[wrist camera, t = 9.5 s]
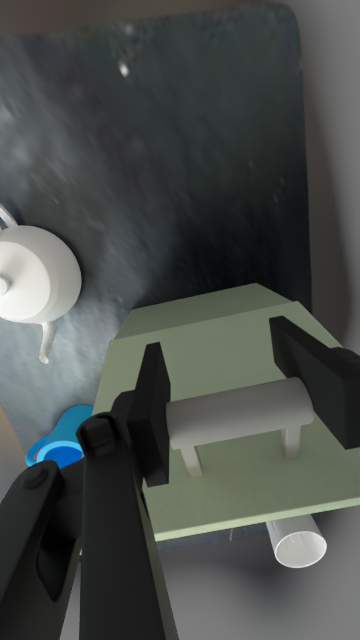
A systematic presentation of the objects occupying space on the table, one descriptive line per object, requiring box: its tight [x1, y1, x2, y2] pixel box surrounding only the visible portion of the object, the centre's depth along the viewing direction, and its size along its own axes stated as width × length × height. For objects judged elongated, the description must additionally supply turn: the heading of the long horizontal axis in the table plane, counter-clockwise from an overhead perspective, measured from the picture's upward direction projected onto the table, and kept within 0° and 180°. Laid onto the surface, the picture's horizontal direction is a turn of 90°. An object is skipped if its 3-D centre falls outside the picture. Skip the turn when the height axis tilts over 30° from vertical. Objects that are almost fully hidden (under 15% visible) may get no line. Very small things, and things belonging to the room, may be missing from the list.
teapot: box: [0, 203, 82, 364], centre depth 32 cm, size 20×12×10 cm, turn 14°
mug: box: [25, 405, 94, 469], centre depth 41 cm, size 12×8×8 cm
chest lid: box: [80, 301, 360, 555], centre depth 18 cm, size 16×19×6 cm
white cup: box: [266, 514, 327, 568], centre depth 45 cm, size 8×8×10 cm
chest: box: [114, 283, 292, 340], centre depth 35 cm, size 16×19×13 cm
